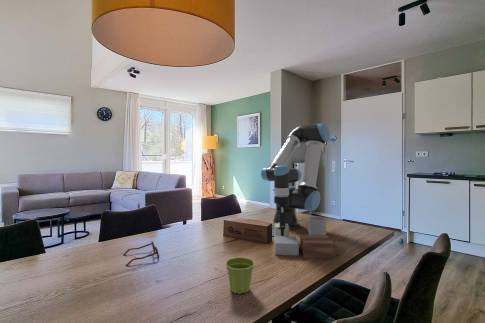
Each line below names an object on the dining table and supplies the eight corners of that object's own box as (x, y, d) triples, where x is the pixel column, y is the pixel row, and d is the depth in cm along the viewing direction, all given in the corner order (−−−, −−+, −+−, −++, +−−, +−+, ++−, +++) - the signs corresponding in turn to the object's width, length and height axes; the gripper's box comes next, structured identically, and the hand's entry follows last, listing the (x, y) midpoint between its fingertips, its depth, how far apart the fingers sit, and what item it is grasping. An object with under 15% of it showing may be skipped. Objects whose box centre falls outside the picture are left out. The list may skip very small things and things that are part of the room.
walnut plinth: (300, 247, 121) (300, 234, 121) (326, 248, 120) (326, 235, 120) (303, 257, 109) (303, 243, 109) (333, 258, 108) (333, 244, 108)
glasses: (159, 260, 108) (159, 248, 108) (125, 267, 101) (125, 254, 101) (153, 250, 119) (153, 239, 119) (122, 255, 113) (122, 244, 113)
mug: (329, 241, 130) (330, 219, 129) (316, 243, 126) (316, 221, 126) (313, 234, 140) (313, 214, 140) (300, 236, 137) (300, 215, 136)
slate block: (274, 246, 122) (274, 235, 122) (295, 247, 121) (295, 236, 121) (274, 254, 112) (274, 243, 112) (298, 255, 111) (298, 243, 111)
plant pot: (232, 280, 90) (232, 255, 90) (258, 285, 86) (258, 259, 86) (220, 293, 81) (220, 266, 81) (248, 300, 77) (248, 271, 77)
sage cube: (274, 236, 138) (274, 223, 137) (287, 236, 137) (287, 223, 137) (274, 240, 131) (274, 227, 130) (289, 241, 130) (289, 227, 130)
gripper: (273, 192, 145) (273, 231, 146) (274, 199, 122) (274, 245, 122) (287, 192, 145) (287, 231, 145) (291, 199, 121) (290, 246, 122)
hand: (281, 238), depth 134 cm, fingers open, 11 cm apart
